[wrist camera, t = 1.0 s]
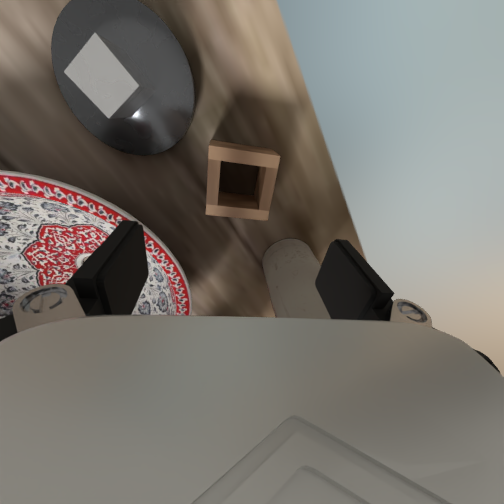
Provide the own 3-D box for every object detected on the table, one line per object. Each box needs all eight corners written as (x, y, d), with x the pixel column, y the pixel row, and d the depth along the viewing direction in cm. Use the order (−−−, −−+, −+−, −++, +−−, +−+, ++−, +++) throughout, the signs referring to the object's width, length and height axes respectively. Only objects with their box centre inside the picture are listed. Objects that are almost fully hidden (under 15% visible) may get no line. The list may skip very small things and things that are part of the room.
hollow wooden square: (271, 148, 26) (280, 156, 22) (261, 205, 30) (267, 220, 26) (211, 139, 25) (208, 145, 21) (208, 199, 29) (205, 214, 24)
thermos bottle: (274, 286, 38) (355, 574, 14) (253, 252, 34) (320, 579, 10) (318, 267, 37) (486, 548, 13) (302, 229, 32) (506, 542, 9)
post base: (219, 103, 23) (218, 100, 18) (142, 175, 26) (120, 191, 21) (119, -46, 17) (71, -117, 12) (34, 68, 20) (-36, 53, 15)
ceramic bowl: (66, 344, 40) (34, 391, 34) (-110, 190, 24) (-237, 220, 18) (221, 308, 39) (220, 348, 33) (143, 123, 24) (110, 128, 17)
